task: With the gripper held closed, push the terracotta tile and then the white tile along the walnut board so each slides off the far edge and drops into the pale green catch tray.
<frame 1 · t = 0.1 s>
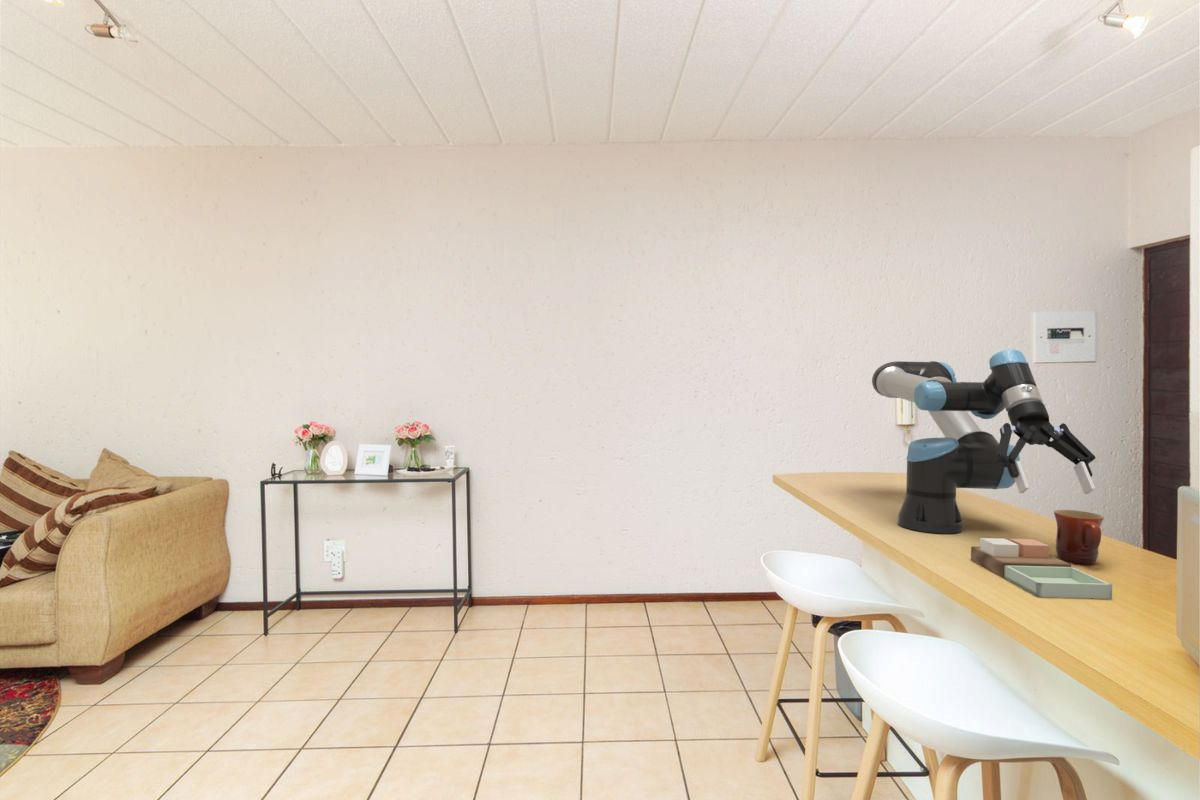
hand: (1057, 491, 138), 15 cm above the table, tool tilted 35°, fingers open, 13 cm apart
tray: (1055, 588, 121), on the table
tile white: (998, 553, 133), point 3 cm above the table, touching board
board: (1018, 569, 132), on the table
tile terracotta: (1028, 554, 133), point 3 cm above the table, touching board
mug: (1080, 563, 137), on the table
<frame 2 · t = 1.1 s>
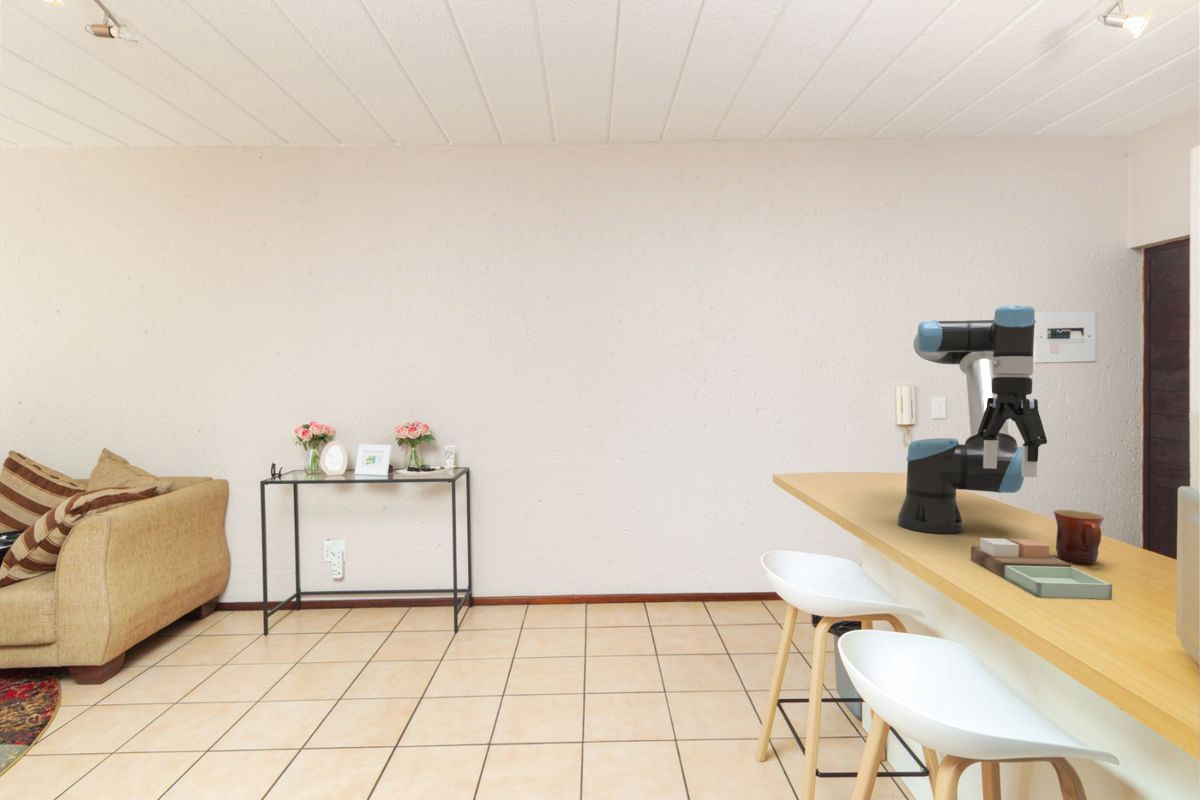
hand: (1008, 472, 141), 19 cm above the table, tool pointing down, fingers open, 13 cm apart
nothing on the table moved.
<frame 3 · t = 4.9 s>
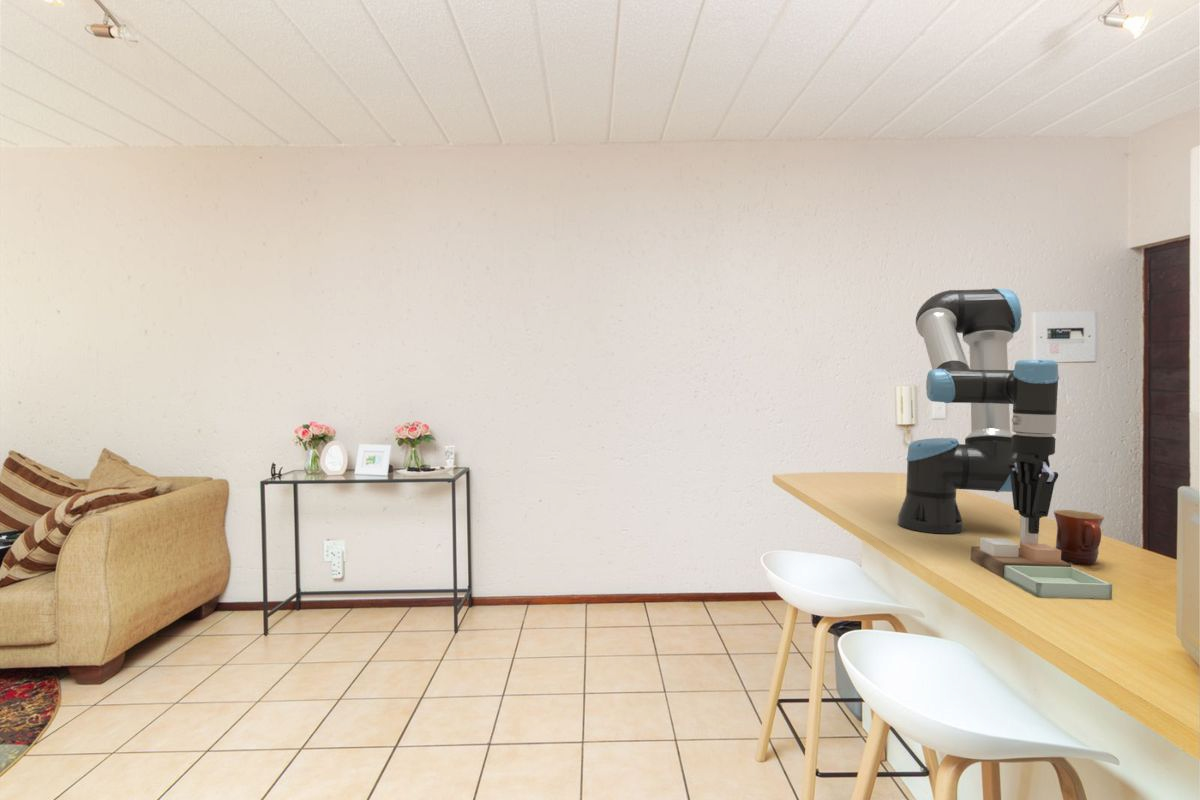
hand: (1028, 547, 133), 4 cm above the table, tool pointing down, fingers closed
tile terracotta: (1039, 558, 129), point 3 cm above the table
everything else where it was.
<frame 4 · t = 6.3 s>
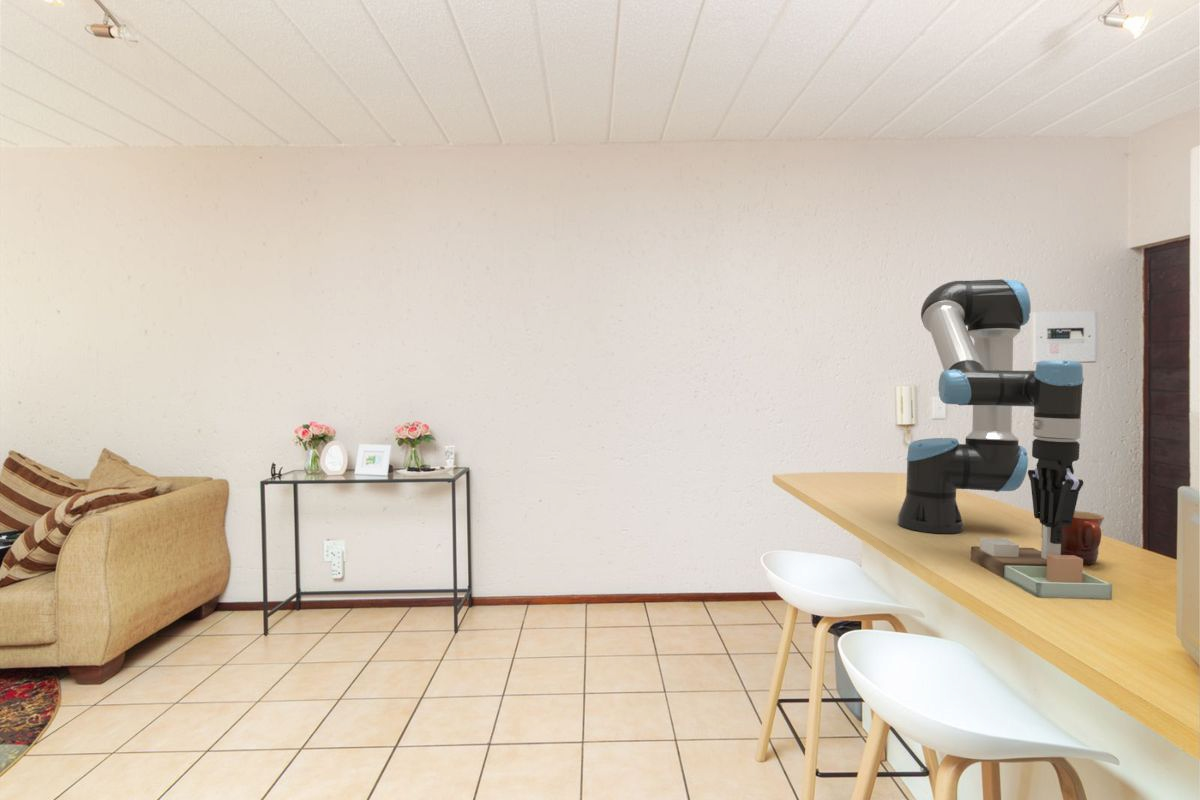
hand: (1050, 558, 126), 4 cm above the table, tool pointing down, fingers closed
tile terracotta: (1060, 567, 123), point 3 cm above the table, tilted 90°, touching tray
everything else where it was.
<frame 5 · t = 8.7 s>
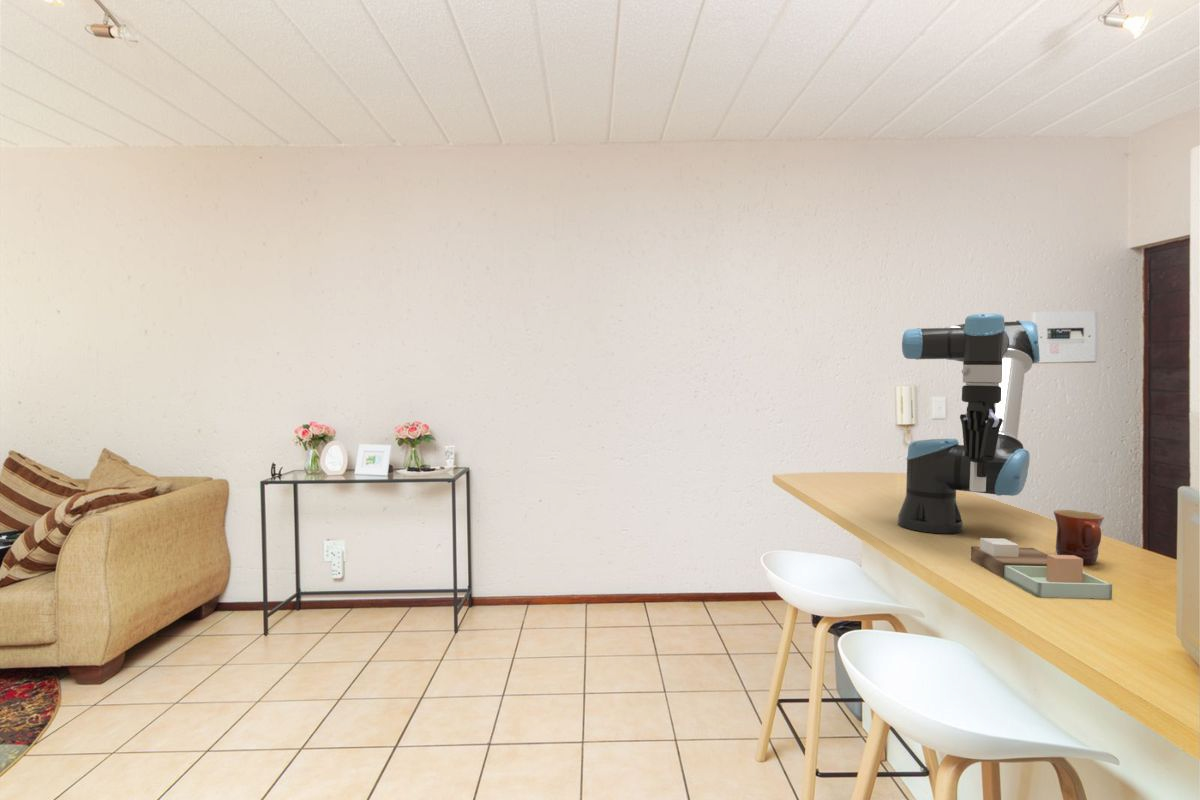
hand: (977, 490, 141), 14 cm above the table, tool pointing down, fingers closed
nothing on the table moved.
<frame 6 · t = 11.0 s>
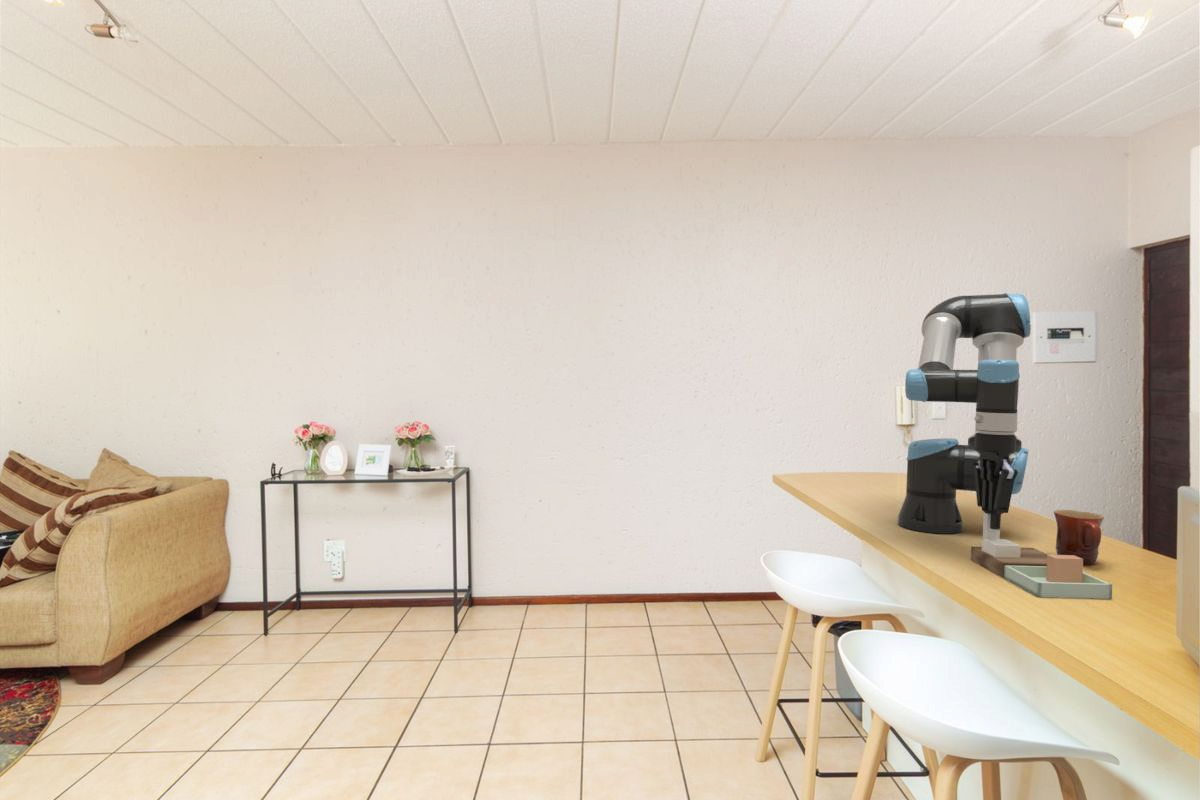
hand: (990, 543, 136), 4 cm above the table, tool pointing down, fingers closed
tile white: (1000, 554, 133), point 3 cm above the table, touching gripper
everything else where it was.
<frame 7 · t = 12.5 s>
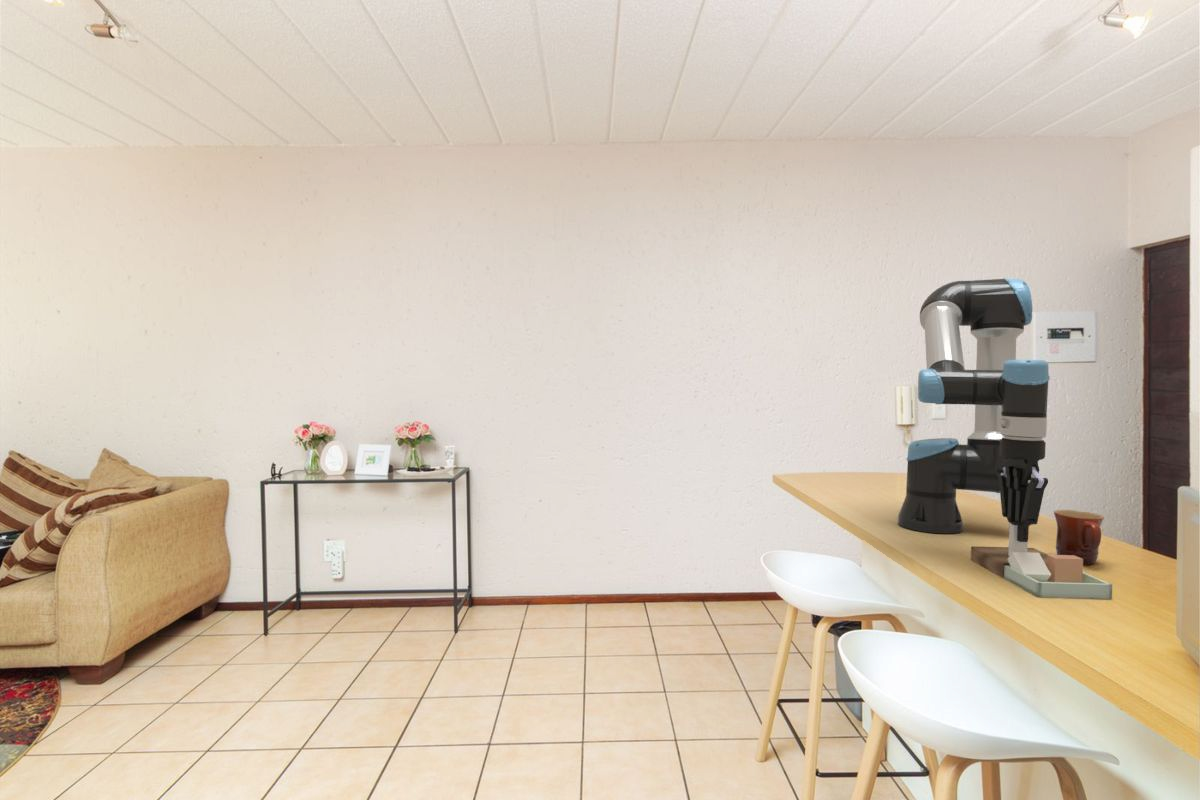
hand: (1017, 556, 127), 4 cm above the table, tool pointing down, fingers closed
tile white: (1026, 570, 124), point 2 cm above the table, tilted 39°, touching tray
everything else where it was.
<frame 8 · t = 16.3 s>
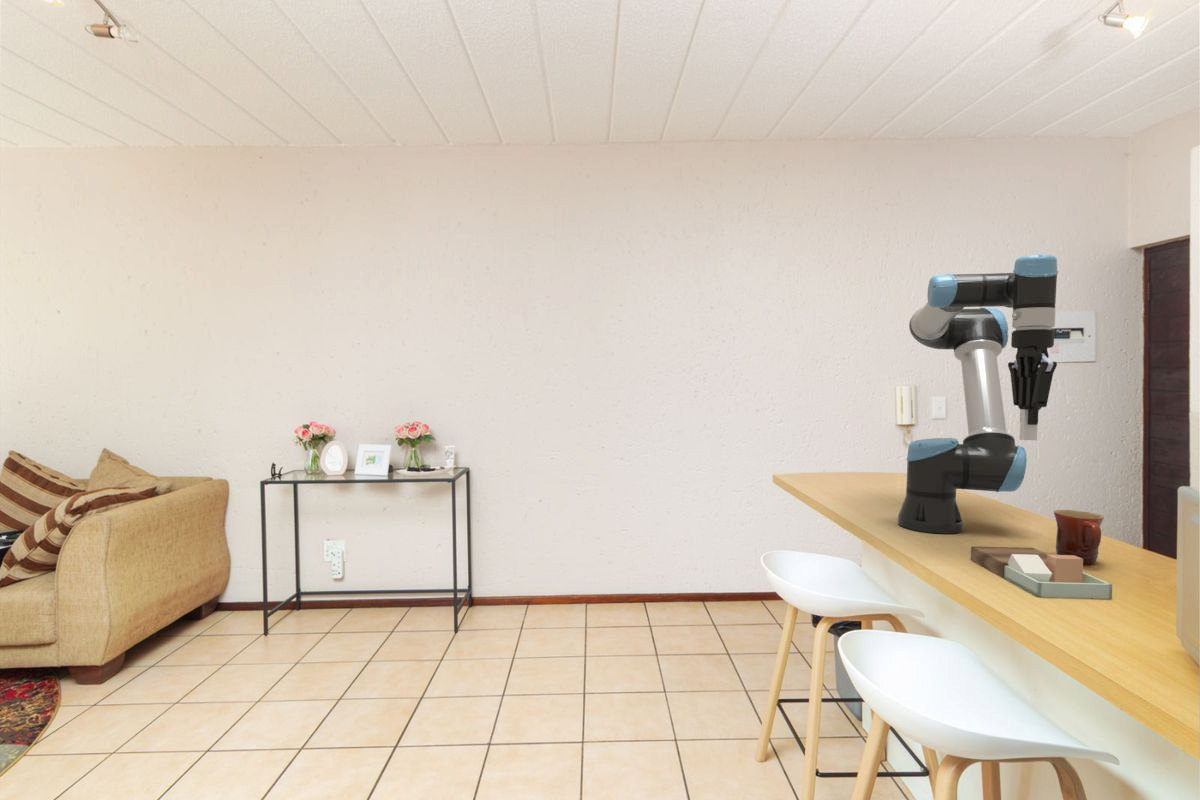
hand: (1028, 439, 137), 26 cm above the table, tool pointing down, fingers closed
tile white: (1027, 573, 124), point 2 cm above the table, tilted 28°, touching tray
everything else where it was.
at the end: tile terracotta inside the target area on the tray (4.1 cm from its centre), point 3.1 cm above the tray's base; tile white inside the target area on the tray (5.1 cm from its centre), point 1.8 cm above the tray's base; tile white touching tray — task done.
